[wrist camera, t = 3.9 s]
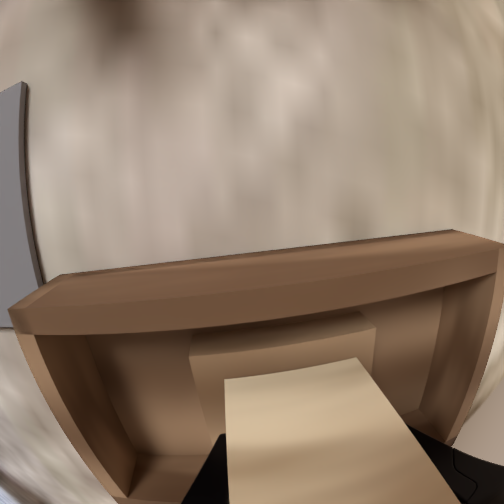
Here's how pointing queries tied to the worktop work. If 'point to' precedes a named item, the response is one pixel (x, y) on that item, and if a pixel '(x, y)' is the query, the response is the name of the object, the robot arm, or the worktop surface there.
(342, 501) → the maple block
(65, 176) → the worktop surface
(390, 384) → the box
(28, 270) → the rubber mat
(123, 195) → the worktop surface
